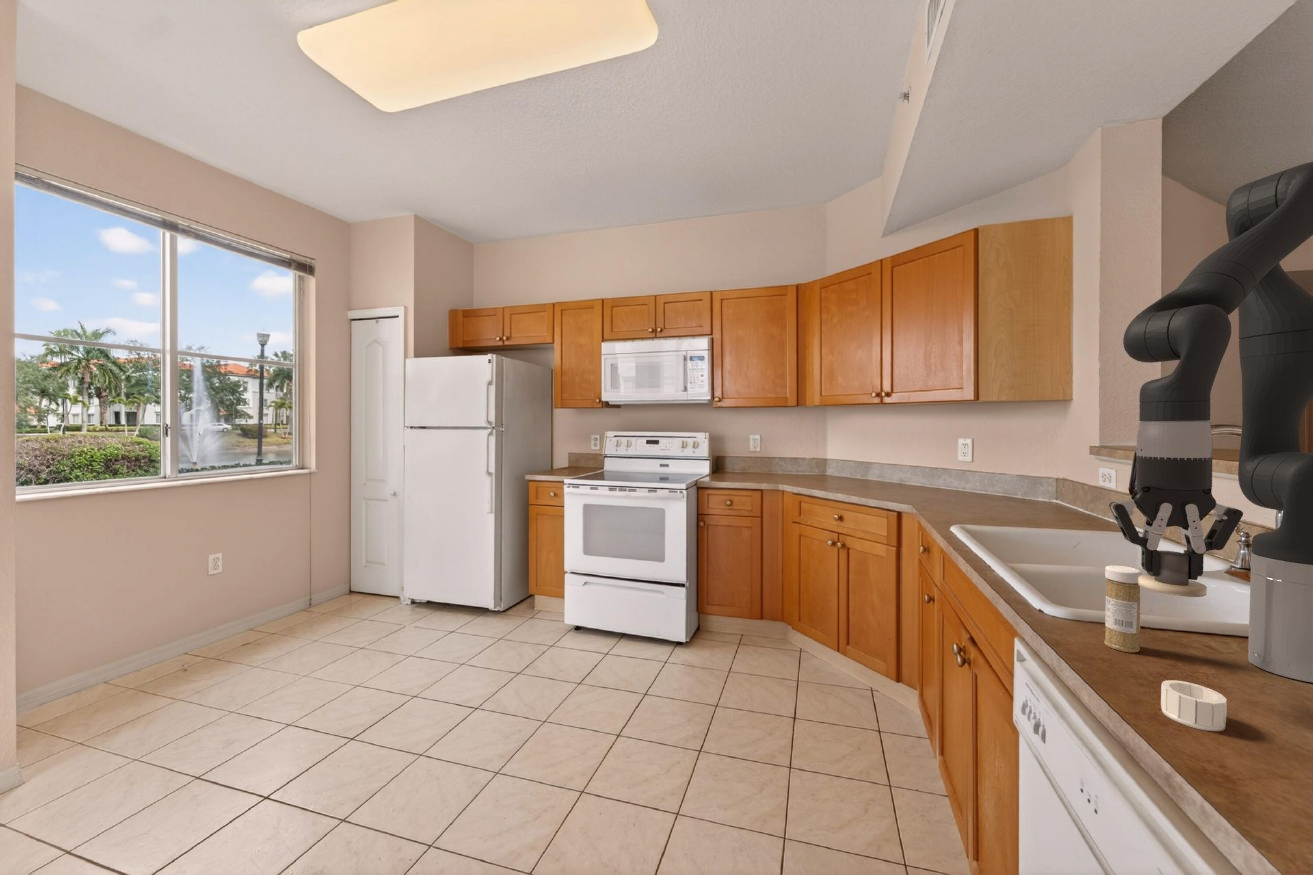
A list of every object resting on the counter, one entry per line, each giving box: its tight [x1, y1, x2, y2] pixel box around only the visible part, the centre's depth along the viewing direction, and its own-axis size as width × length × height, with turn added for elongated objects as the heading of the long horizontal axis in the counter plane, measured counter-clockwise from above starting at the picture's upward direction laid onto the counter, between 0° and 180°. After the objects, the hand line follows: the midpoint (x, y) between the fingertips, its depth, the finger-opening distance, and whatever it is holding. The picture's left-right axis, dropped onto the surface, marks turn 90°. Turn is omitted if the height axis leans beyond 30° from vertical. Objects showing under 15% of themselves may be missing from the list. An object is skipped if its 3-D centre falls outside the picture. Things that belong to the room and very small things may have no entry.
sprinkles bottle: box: [1103, 565, 1143, 653], centre depth 88 cm, size 5×5×13 cm
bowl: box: [1160, 679, 1228, 732], centre depth 67 cm, size 6×6×4 cm
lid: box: [1138, 550, 1207, 598], centre depth 73 cm, size 7×7×5 cm
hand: (1171, 576), depth 73 cm, fingers closed on lid, 3 cm apart
